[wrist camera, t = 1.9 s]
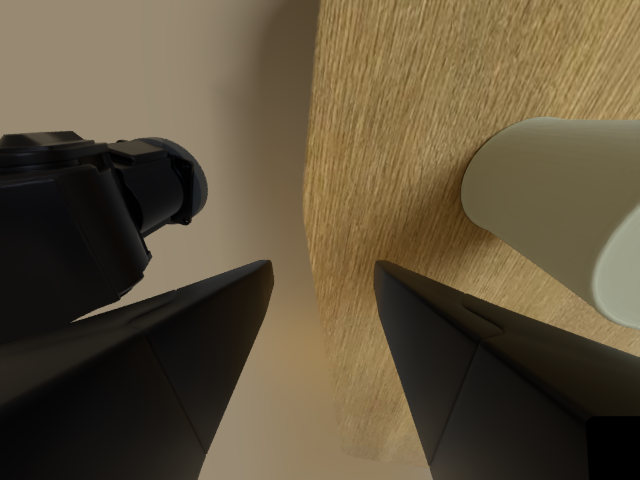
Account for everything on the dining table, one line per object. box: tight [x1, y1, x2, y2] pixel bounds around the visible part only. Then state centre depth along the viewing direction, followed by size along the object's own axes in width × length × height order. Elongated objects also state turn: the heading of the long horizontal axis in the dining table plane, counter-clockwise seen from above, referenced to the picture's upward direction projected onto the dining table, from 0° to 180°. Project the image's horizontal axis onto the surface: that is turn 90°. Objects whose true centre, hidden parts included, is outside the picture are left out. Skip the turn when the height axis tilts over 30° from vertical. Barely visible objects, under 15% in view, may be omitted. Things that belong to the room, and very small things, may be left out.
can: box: [461, 117, 640, 330], centre depth 14 cm, size 9×9×12 cm
